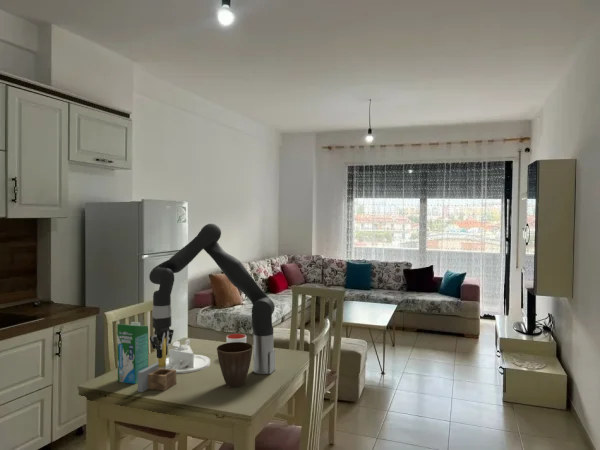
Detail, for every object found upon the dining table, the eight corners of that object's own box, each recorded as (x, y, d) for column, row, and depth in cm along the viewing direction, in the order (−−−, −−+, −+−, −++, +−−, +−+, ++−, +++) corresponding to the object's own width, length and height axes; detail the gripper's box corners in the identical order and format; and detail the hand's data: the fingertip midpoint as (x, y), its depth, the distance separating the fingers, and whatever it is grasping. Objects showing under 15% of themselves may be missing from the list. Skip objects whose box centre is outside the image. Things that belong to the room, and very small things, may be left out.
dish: (147, 364, 216) (147, 341, 216) (194, 353, 233) (193, 332, 233) (172, 378, 198) (171, 352, 198) (220, 365, 215) (220, 341, 215)
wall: (165, 378, 197) (165, 360, 197) (142, 392, 182) (141, 372, 181) (161, 378, 197) (161, 360, 197) (137, 391, 182) (137, 372, 182)
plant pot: (238, 394, 179) (238, 354, 179) (209, 387, 187) (209, 349, 186) (259, 382, 192) (259, 344, 192) (231, 376, 200) (231, 340, 199)
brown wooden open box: (176, 384, 190) (176, 369, 190) (165, 390, 183) (164, 376, 183) (160, 381, 193) (160, 367, 193) (148, 388, 185) (148, 374, 185)
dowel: (167, 365, 189) (167, 337, 189) (163, 367, 186) (162, 338, 186) (161, 364, 190) (161, 336, 190) (156, 367, 187) (156, 338, 187)
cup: (244, 358, 224) (244, 338, 224) (224, 358, 224) (224, 338, 224) (247, 352, 234) (247, 333, 234) (228, 352, 234) (228, 333, 234)
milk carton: (148, 377, 199) (148, 320, 198) (134, 384, 190) (134, 325, 190) (131, 374, 202) (131, 319, 201) (117, 381, 193) (117, 323, 193)
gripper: (164, 311, 195) (164, 351, 196) (143, 318, 182) (143, 360, 182) (179, 312, 193) (179, 352, 193) (159, 319, 180) (159, 362, 180)
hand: (162, 356), depth 188 cm, fingers closed on dowel, 3 cm apart
